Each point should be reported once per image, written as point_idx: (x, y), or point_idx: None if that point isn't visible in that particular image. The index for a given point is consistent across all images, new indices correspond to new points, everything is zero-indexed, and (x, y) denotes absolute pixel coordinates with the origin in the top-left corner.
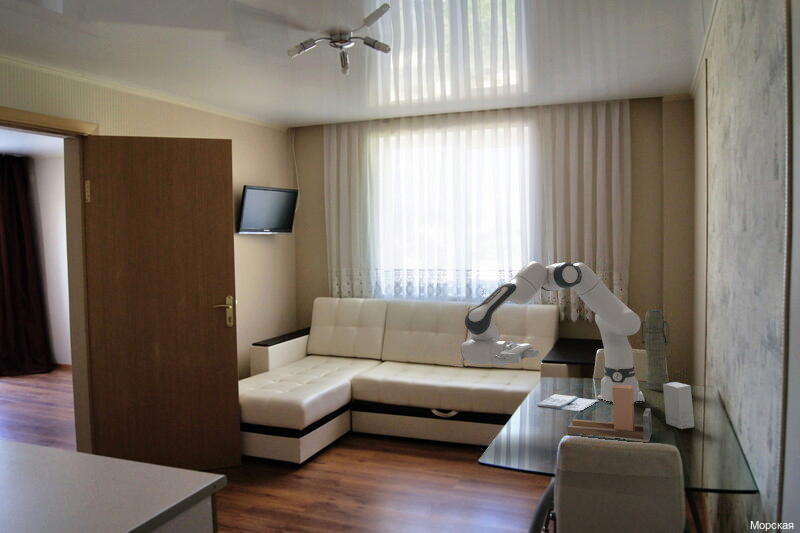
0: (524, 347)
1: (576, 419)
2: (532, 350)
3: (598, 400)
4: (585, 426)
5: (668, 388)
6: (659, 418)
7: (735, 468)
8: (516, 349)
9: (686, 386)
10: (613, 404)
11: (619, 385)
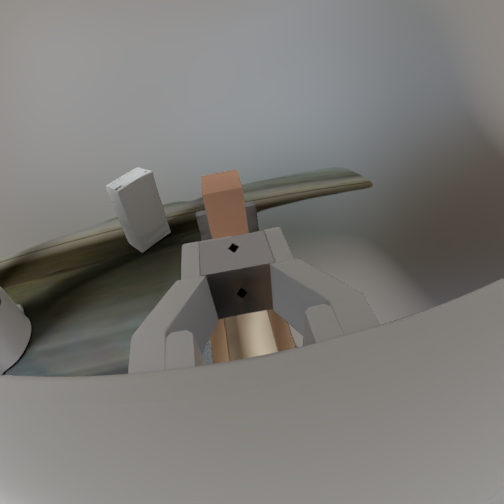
0: (131, 416)
1: (214, 362)
2: (193, 295)
3: (10, 375)
4: (228, 344)
5: (132, 188)
6: (114, 267)
7: (303, 176)
8: (438, 466)
9: (141, 168)
10: (247, 226)
11: (212, 186)
